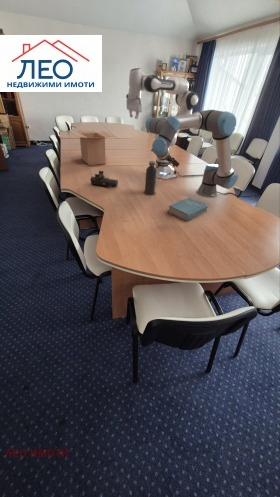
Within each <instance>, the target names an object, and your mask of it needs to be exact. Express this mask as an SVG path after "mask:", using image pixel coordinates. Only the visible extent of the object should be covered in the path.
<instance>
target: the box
mask: <svg viewBox="0 0 280 497" xmlns="http://www.w3.org/2000/svg"><path fill="white" fill-rule="evenodd" d="M70 133H71V134H72V135H74V136H75V137H77V138H79V144H80V153H81V160H83V162H85V163H86V165H87V166H95V165H97V166H98V165H106V163H107V162H106V158H107V157H106V138H113V137H114V136H113V135H111V134H109V133H108V132H105V131H98V132H96V131H95V130H92V129H91V130H77V132H76V131H70Z"/></svg>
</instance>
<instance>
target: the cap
mask: <svg viewBox="0 0 280 497" xmlns="http://www.w3.org/2000/svg"><path fill="white" fill-rule="evenodd" d="M155 164H156V161H154V160H150V161H149V163H148V166H150V165H151V166H154V167H155Z"/></svg>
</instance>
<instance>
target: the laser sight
mask: <svg viewBox="0 0 280 497" xmlns="http://www.w3.org/2000/svg"><path fill="white" fill-rule="evenodd" d="M89 181H90V184H91V185H94V186H101V187H112V188H113V187H114V188H117V187H118V186H119V179H114V178H109V177H105V175H104V170H98V174H97V173H95V174H94V176H90V180H89Z"/></svg>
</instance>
